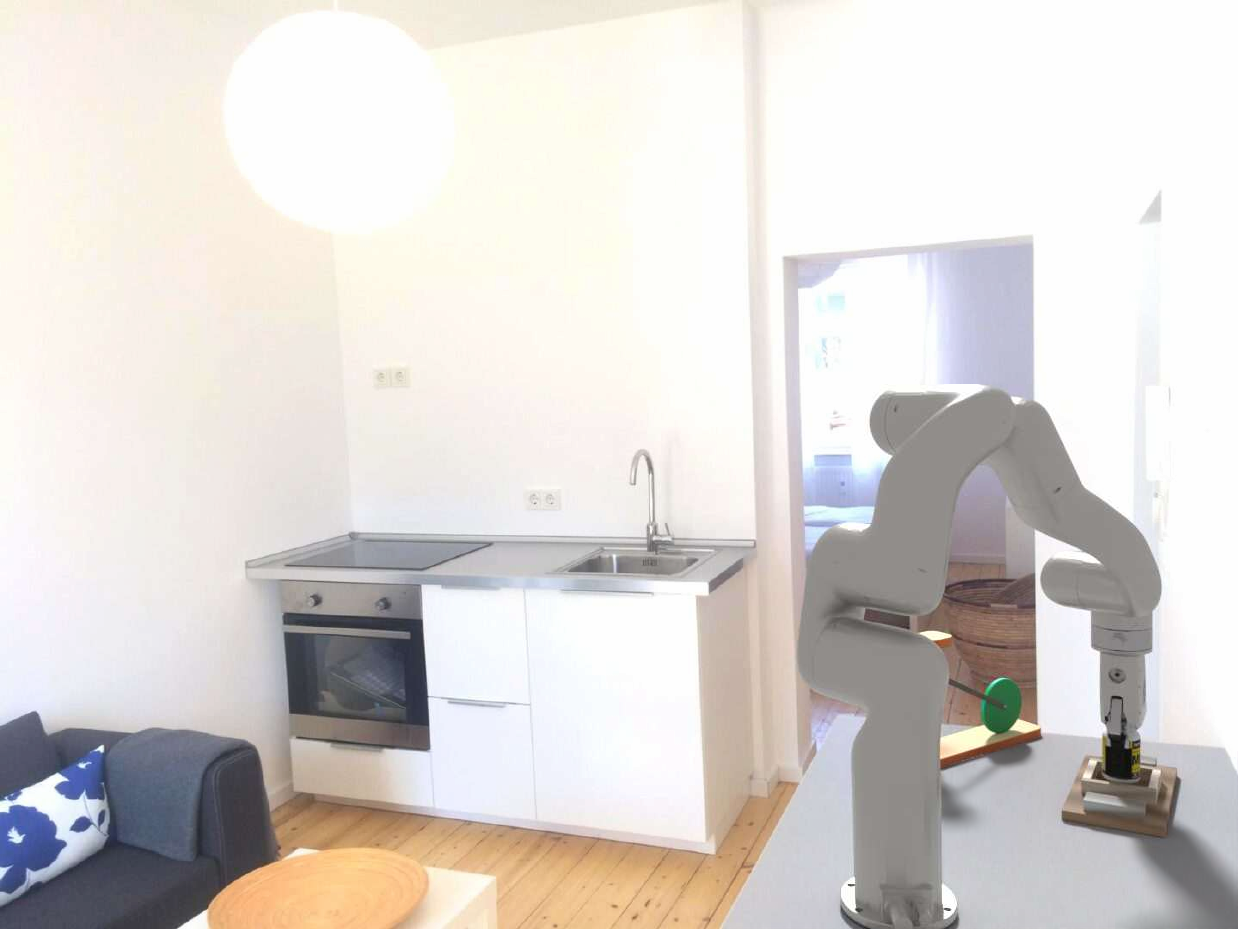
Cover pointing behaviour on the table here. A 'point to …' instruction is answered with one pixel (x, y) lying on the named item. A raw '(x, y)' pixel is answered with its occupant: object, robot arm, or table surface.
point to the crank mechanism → (986, 718)
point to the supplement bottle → (1135, 746)
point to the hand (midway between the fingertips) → (1121, 767)
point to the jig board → (1120, 823)
